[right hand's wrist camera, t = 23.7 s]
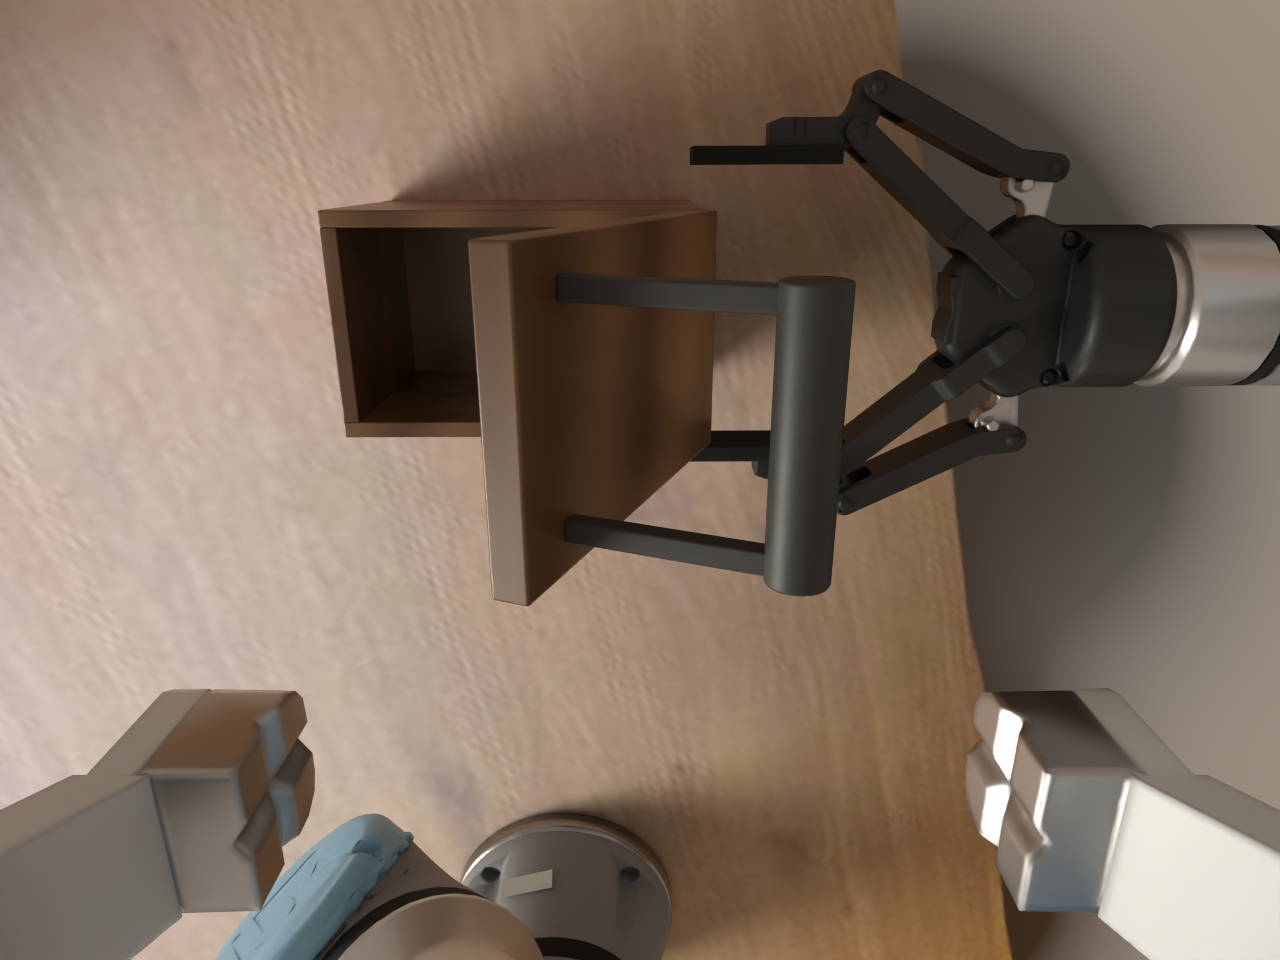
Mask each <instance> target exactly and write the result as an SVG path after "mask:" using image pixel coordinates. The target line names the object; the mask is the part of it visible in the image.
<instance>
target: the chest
mask: <svg viewBox="0 0 1280 960" xmlns="http://www.w3.org/2000/svg"><path fill="white" fill-rule="evenodd" d="M688 210H701V209H699V208H698V207H696V206H695V205H693V204H692V203H690V201H689V200H462V201H384V202H379V203H371V204H364V205H356V206H348V207H340V208H333V209H325V210H319V211H318V216H319V224H320V227H321V228H320V234H321V242H322V250H323V258H324V266H325V275H326V283H327V291H328V299H329V307H330V315H331V323H332V331H333V339H334V347H335V355H336V363H337V371H338V379H339V387H340V395H341V403H342V411H343V419H344V427H345V435H346V437H481V425H480V410H479V396H478V381H477V366H476V352H475V337H474V322H473V308H472V293H471V278H470V263H469V249H468V241H469V240H470V239H474V238H482V237H490V236H497V235H505V234H513V233H520V232H528V231H536V230H543V229H551V228H558V227H566V226H574V225H581V224H589V223H597V222H604V221H612V220H620V219H627V218H635V217H642V216H650V215H658V214H665V213H673V212H681V211H688Z"/></svg>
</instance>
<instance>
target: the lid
mask: <svg viewBox="0 0 1280 960" xmlns="http://www.w3.org/2000/svg"><path fill="white" fill-rule="evenodd" d="M716 233H717V211H712V210H688V211H681V212H673V213H665V214H658V215H650V216H642V217H635V218H627V219H620V220H612V221H604V222H597V223H589V224H581V225H574V226H566V227H558V228H551V229H543V230H536V231H528V232H520V233H513V234H505V235H497V236H490V237H482V238H474V239H470V240H469V241H468V249H469V263H470V278H471V293H472V308H473V322H474V337H475V352H476V366H477V381H478V396H479V410H480V425H481V440H482V454H483V469H484V484H485V498H486V513H487V528H488V543H489V557H490V572H491V587H492V598H493V599H494V600H498V601H503V602H508V603H513V604H518V605H523V606H530V605H531V604H532V603H533V602H534V601H535V600H536V599H537V598H539V597H540V596H541V595H542V594H543V593H544V592H545V591H546V590H547V589H549V588H550V587H551V586H552V585H553V584H554V583H555V582H556V581H557V580H559V579H560V578H561V577H562V576H563V575H564V574H565V573H566V572H567V571H569V570H570V569H571V568H572V567H573V566H574V565H575V564H576V563H577V562H578V561H580V560H581V559H582V558H583V557H584V556H585V555H586V554H587V553H588V552H590V551H591V550H592V549H593V548H594V547H598V548H603V549H609V550H615V551H621V552H627V553H632V554H638V555H644V556H650V557H656V558H661V559H667V560H673V561H679V562H685V563H690V564H696V565H702V566H708V567H714V568H719V569H725V570H731V571H737V572H743V573H748V574H754V575H760V576H763V579H764V582H765V584H766V585H767V586H768V587H769V588H771V589H772V590H774V591H776V592H779V593H782V594H786V595H791V596H813V595H818V594H821V593H823V592H825V591H826V590H827V589H828V588H829V586H830V585H831V576H832V564H833V552H834V540H835V528H836V516H837V504H838V491H839V479H840V467H841V455H842V443H843V431H844V419H845V407H846V395H847V382H848V370H849V358H850V346H851V334H852V322H853V310H854V298H855V286H856V284H855V281H853V280H851V279H847V278H842V277H832V276H792V277H786V278H783V279H780V281H779V283H771V282H750V281H728V280H715V270H716ZM714 311H715V312H731V313H748V314H764V315H777V322H776V342H775V361H774V380H773V399H772V418H771V437H770V456H769V475H768V494H767V513H766V532H765V544H764V543H758V542H751V541H745V540H739V539H732V538H726V537H720V536H713V535H707V534H701V533H694V532H688V531H682V530H676V529H669V528H663V527H657V526H650V525H644V524H638V523H631V522H625V521H624V520H625V519H626V518H627V517H628V516H629V515H631V514H632V513H633V512H634V511H635V510H636V509H637V508H638V507H639V506H641V505H642V504H643V503H644V502H645V501H646V500H647V499H648V498H649V497H651V496H652V495H653V494H654V493H655V492H656V491H657V490H658V489H659V488H661V487H662V486H663V485H664V484H665V483H666V482H667V481H668V480H669V479H670V478H672V477H673V476H674V475H675V474H676V473H677V472H678V471H679V470H680V469H682V468H683V467H684V466H685V465H686V464H687V463H688V462H689V461H690V460H692V459H693V458H694V457H695V456H696V455H697V454H698V453H699V452H700V451H702V450H703V449H704V448H705V447H706V446H707V445H708V444H709V443H710V442H711V415H712V379H713V342H714Z"/></svg>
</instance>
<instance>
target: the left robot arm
mask: <svg viewBox="0 0 1280 960" xmlns="http://www.w3.org/2000/svg"><path fill="white" fill-rule="evenodd" d="M879 115H880V116H881V117H883V118H885V119H887V120H889V121H890V122H892V123H894V124H896V125H897V126H899V127H901V128H903V129H905V130H906V131H908V132H910V133H912V134H913V135H915V136H917V137H919V138H921V139H922V140H924V141H926V142H928V143H929V144H931V145H933V146H935V147H937V148H938V149H940V150H942V151H944V152H946V153H947V154H949V155H951V156H953V157H954V158H956V159H958V160H960V161H962V162H963V163H965V164H967V165H969V166H970V167H972V168H974V169H976V170H978V171H980V172H982V173H984V174H987V175H990V176H993V177H997V178H1001V182H1000V190H1001V192H1002V194H1003V195H1004V196H1006V197H1008V198H1011V199H1012V200H1013V201H1014V202H1015V204H1016V207H1017V212H1016V215H1013V216H1011V217H1009V218H1008V219H1006V220H1005V221H1003V222H1002V223H1000V224H999V225H997V226H996V227H994V228H993V229H991V230H990V231H989V232H987V231H986V230H985V229H984V228H983V227H982V226H981V225H980V224H979V223H978V222H976V221H975V220H974V219H972V218H970V217H969V216H968V215H966V214H965V213H964V212H963V211H962V210H961V209H960V208H959V207H958V206H957V205H956V204H955V203H954V202H953V201H952V200H951V199H950V198H949V197H948V196H947V195H946V194H945V193H944V192H943V191H942V190H941V189H940V188H939V187H938V186H937V185H936V184H935V183H934V182H933V181H932V180H931V179H930V178H929V177H928V176H927V175H926V174H925V173H924V172H923V171H922V170H921V169H920V168H919V167H918V166H917V165H916V164H915V163H914V162H913V161H912V160H911V159H910V158H909V157H908V156H907V155H906V154H904V153H903V152H902V151H901V150H900V149H899V148H898V147H897V146H896V145H895V144H894V143H893V142H892V141H891V140H890V139H889V138H888V137H887V136H886V135H885V134H884V133H883V132H882V131H881V130H880V129H879V128H878V127H877V126H876V125H875V124H876V122H877V119H878V117H879ZM844 150H845V151H846V152H847V153H848V154H849V155H850V156H851V157H852V158H853V159H854V160H855V161H856V162H857V163H858V164H859V165H860V166H861V167H862V168H863V169H864V170H865V171H867V172H868V173H869V174H870V175H871V176H872V177H873V178H874V179H875V180H876V181H877V182H878V183H879V184H880V185H881V186H882V187H883V188H884V189H885V190H886V191H887V192H888V193H889V194H890V195H891V196H892V197H893V198H894V199H896V200H897V201H898V202H899V203H900V204H901V205H902V206H903V207H904V208H905V209H906V210H907V211H908V212H909V213H910V214H911V215H912V216H913V217H914V218H915V219H916V220H917V221H918V222H919V223H920V224H921V225H922V226H923V227H925V228H926V229H927V230H928V231H929V232H930V233H931V235H932V237H933V238H934V239H935V240H936V242H938V243H939V244H940V245H941V246H942V247H943V248H944V249H945V250H946V251H947V252H948V253H949V254H950V255H951V256H952V258H951V259H950V260H949V261H948V262H947V264H946V265H945V267H944V269H943V271H942V272H938V278H937V287H936V289H937V296H938V303H939V305H938V308H937V311H936V314H935V316H934V319H933V322H932V331H931V337H933V338H934V339H935V343H936V346H937V348H938V350H937V351H936V352H934V353H933V354H932V355H930V356H929V357H928V358H926V359H925V360H924V361H923V362H921V363H920V364H919V366H918V368H917V370H916V371H915V372H914V373H913V374H911V375H910V376H909V377H908V378H906V379H905V380H904V381H902V382H901V383H900V384H898V385H897V386H896V387H895V388H893V389H892V390H891V391H889V392H888V393H887V394H885V395H884V396H883V397H882V398H880V399H879V400H878V401H876V402H875V403H874V404H872V405H871V406H870V407H869V408H867V409H866V410H865V411H863V412H862V413H861V414H859V415H858V416H857V417H856V418H854V419H853V420H852V421H850V422H849V423H848V424H846V425H845V426H844V431H843V443H842V455H841V467H840V479H839V491H838V504H837V514H839V515H848V514H851V513H853V512H855V511H857V510H859V509H862V508H864V507H866V506H868V505H871V504H873V503H875V502H877V501H880V500H882V499H884V498H886V497H888V496H891V495H893V494H895V493H897V492H900V491H902V490H904V489H906V488H908V487H911V486H913V485H915V484H917V483H920V482H922V481H924V480H926V479H929V478H931V477H933V476H935V475H937V474H940V473H942V472H944V471H946V470H949V469H951V468H953V467H955V466H957V465H960V464H962V463H964V462H966V461H969V460H971V459H973V458H975V457H977V456H981V455H990V454H999V453H1008V452H1015V451H1018V450H1020V449H1021V448H1023V446H1024V445H1025V443H1026V440H1027V438H1026V434H1025V432H1024V431H1023V430H1021V429H1020V428H1018V395H1020V394H1022V393H1024V392H1026V391H1028V390H1030V389H1033V388H1037V387H1121V386H1127V385H1130V384H1132V383H1134V384H1137V385H1139V386H1150V387H1154V386H1222V385H1280V226H1264V225H1251V224H1166V225H1157V226H1154V227H1152V228H1149V227H1147V226H1144V225H1058V224H1055V223H1053V222H1051V221H1049V220H1048V219H1046V218H1045V217H1046V213H1047V210H1048V205H1049V202H1050V198H1051V194H1052V190H1053V186H1054V183H1055V182H1058V181H1060V180H1062V179H1063V178H1064V177H1065V176H1066V175H1067V173H1068V171H1069V166H1070V164H1069V160H1068V158H1067V157H1066V156H1065V155H1063V154H1060V153H1052V152H1044V151H1036V150H1027V149H1021V148H1020V147H1018V146H1016V145H1014V144H1013V143H1011V142H1009V141H1007V140H1006V139H1004V138H1002V137H1000V136H999V135H997V134H995V133H993V132H992V131H990V130H988V129H986V128H985V127H983V126H981V125H979V124H978V123H976V122H974V121H972V120H971V119H969V118H967V117H965V116H964V115H962V114H960V113H958V112H957V111H955V110H953V109H951V108H950V107H948V106H946V105H944V104H943V103H941V102H939V101H937V100H936V99H934V98H932V97H930V96H929V95H927V94H925V93H923V92H922V91H920V90H918V89H916V88H915V87H913V86H911V85H909V84H908V83H906V82H904V81H902V80H901V79H899V78H897V77H895V76H894V75H892V74H890V73H888V72H887V71H883V70H878V71H874V72H872V73H870V74H867V75H865V76H862V77H861V78H859V79H857V81H856V82H855V83H854V85H853V88H852V95H851V98H850V100H849V103H848V105H847V107H846V109H845V111H844V112H843V113H842V114H841V115H839V116H838V117H782V118H779V119H777V120H774V121H772V122H770V123H767V124H766V144H765V146H692V147H690V165H754V164H843V159H844ZM977 382H978V383H979V384H981V385H982V386H983V387H984V388H986V389H987V390H989V391H991V396H990V398H989V400H988V401H987V403H985V404H984V405H982V406H979V407H977V408H974V409H973V410H972V411H971V412H970V416H969V418H967V419H962V420H958V421H954V422H952V423H949V424H947V425H944V426H942V427H940V428H938V429H936V430H933V431H931V432H929V433H927V434H925V435H922V436H920V437H918V438H916V439H914V440H912V441H909V442H907V443H905V444H903V445H901V446H898V447H896V448H894V449H892V450H890V451H887V452H885V453H883V454H881V455H879V456H877V457H874V458H872V459H870V460H868V459H869V458H870V457H872V456H873V455H874V454H876V453H877V452H878V451H880V450H881V449H882V448H884V447H885V446H886V445H888V444H889V443H890V442H892V441H893V440H894V439H896V438H897V437H898V436H900V435H901V434H902V433H903V432H905V431H906V430H907V429H909V428H910V427H911V426H913V425H914V424H915V423H917V422H918V421H919V420H921V419H922V418H923V417H925V416H926V415H927V414H929V413H930V412H931V411H933V410H934V409H935V408H937V407H938V406H939V405H941V404H942V403H943V402H945V401H947V400H952V399H955V398H957V397H958V396H960V395H961V394H962V393H964V392H965V391H966V390H968V389H969V388H970V387H972V386H973V385H974V384H976V383H977ZM770 437H771V430H767V431H711V442H710V443H709V444H708V445H707V446H706V447H705V448H704V449H703V450H702V451H700V452H699V453H698V454H697V455H696V456H695V457H694V458H693V459H692V460H690V461H689V462H692V461H752V468H753V471H754V473H755V475H756V476H759V477H762V478H764V479H768V475H769V456H770ZM866 460H868V461H866ZM865 461H866V462H865ZM413 839H414V836H413V835H412V833H410V832H404V831H403V830H402V829H400V828H399V827H398V826H397V825H396V824H394V823H393V822H392V821H391V820H390V819H388V818H387V817H385V816H383V815H379V814H366V815H362V816H359V817H356V818H354V819H352V820H350V821H348V822H346V823H344V824H343V825H341V826H340V827H338V828H337V829H335V830H334V831H332V832H331V833H330V834H328V835H327V836H326V837H325V838H323V839H322V840H321V841H319V842H318V843H317V844H316V845H314V846H313V847H312V848H311V849H310V850H309V851H308V852H307V853H305V854H304V855H303V856H302V857H301V858H300V859H299V860H298V861H297V862H296V863H295V864H294V865H293V866H292V867H291V868H290V869H289V870H288V871H287V872H286V873H285V874H284V875H283V876H282V877H281V878H280V879H279V880H278V881H277V882H276V883H275V884H274V885H273V887H272V889H271V891H270V893H269V895H268V897H267V899H266V901H265V903H264V905H263V907H262V909H261V911H250V913H249V914H248V915H247V916H246V917H245V919H244V920H243V921H242V922H241V924H240V925H239V926H238V928H237V929H236V930H235V932H234V933H233V934H232V936H231V937H230V938H229V940H228V941H227V942H226V944H225V945H224V947H223V948H222V950H221V951H220V953H219V954H218V956H217V957H216V959H215V960H661V958H662V955H663V952H664V949H665V946H666V944H667V940H668V937H669V932H670V927H671V920H672V911H671V890H670V885H669V881H668V877H667V874H666V872H665V870H664V868H663V866H662V864H661V863H660V861H659V859H658V858H657V857H656V855H655V854H654V853H653V852H652V850H651V849H650V848H649V847H648V846H647V845H646V844H645V843H643V842H642V841H641V840H640V839H639V838H637V837H636V836H634V835H633V834H632V833H630V832H628V831H626V830H625V829H623V828H621V827H619V826H617V825H615V824H612V823H609V822H607V821H604V820H601V819H597V818H593V817H588V816H583V815H575V814H550V815H541V816H536V817H531V818H528V819H524V820H521V821H518V822H516V823H513V824H510V825H508V826H506V827H504V828H502V829H501V830H499V831H497V832H496V833H494V834H493V835H491V836H490V837H489V838H488V839H486V840H485V841H484V842H483V843H482V844H481V845H480V846H479V847H478V848H477V849H476V850H475V852H474V853H473V854H472V856H471V857H470V859H469V860H468V862H467V864H466V866H465V868H464V871H463V874H462V877H461V881H460V883H459V882H457V881H456V880H455V879H453V878H452V877H451V876H450V875H448V874H447V873H446V872H445V871H443V870H442V869H441V868H440V867H439V866H438V865H437V864H436V863H434V862H433V861H432V860H431V859H430V858H429V857H428V856H427V855H426V854H425V853H424V852H423V851H422V850H421V849H420V848H419V847H418V846H417V845H416V844H415V843H414V842H413Z"/></svg>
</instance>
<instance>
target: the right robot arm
mask: <svg viewBox="0 0 1280 960" xmlns="http://www.w3.org/2000/svg"><path fill="white" fill-rule="evenodd" d="M306 723H307V717H306V712H305V707H304V702H303V698H302V697H301V696H300V695H299V694H298V693H297V692H296V691H274V690H226V689H215V690H210V689H173V690H169V691H166V692H163V693H162V694H161V695H160V696H159V697H158V698H157V699H156V700H155V701H154V702H153V703H152V704H151V705H150V706H149V708H148V709H147V710H146V711H145V712H144V713H143V714H142V715H141V716H140V717H139V718H138V719H137V721H136V722H135V723H134V724H133V725H132V726H131V727H130V728H129V729H128V730H127V731H126V732H125V734H124V735H123V736H122V737H121V738H120V739H119V740H118V741H117V742H116V743H115V744H114V745H113V747H112V748H111V749H110V750H109V751H108V752H107V753H106V754H105V755H104V756H103V757H102V758H101V760H100V761H99V762H98V763H97V764H96V765H95V766H94V767H93V768H92V769H91V770H90V772H89V773H88V774H87V775H72V776H70V777H68V778H66V779H63V780H61V781H59V782H57V783H55V784H53V785H51V786H49V787H47V788H45V789H43V790H41V791H39V792H37V793H35V794H33V795H31V796H29V797H27V798H24V799H22V800H20V801H18V802H16V803H14V804H12V805H10V806H8V807H6V808H4V809H2V810H0V960H131V959H132V958H133V957H134V956H136V955H137V954H138V953H139V952H140V951H142V950H143V949H144V948H145V947H146V946H148V945H149V944H150V943H151V942H152V941H154V940H155V939H156V938H157V937H158V936H160V935H161V934H162V933H163V932H165V931H166V930H167V929H168V928H169V927H171V926H172V925H173V924H174V923H175V922H177V921H178V920H179V919H180V918H181V917H182V914H181V913H197V912H231V911H261V909H262V907H263V905H264V903H265V901H266V899H267V897H268V895H269V893H270V891H271V889H272V887H273V885H274V883H275V882H276V880H277V878H278V876H279V874H280V872H281V870H282V868H283V866H284V864H285V863H284V857H283V851H282V846H284V845H285V844H287V843H288V842H289V841H291V840H292V839H294V838H295V837H297V836H298V835H300V833H301V831H302V829H303V827H304V824H305V822H306V820H307V818H308V816H309V813H310V808H311V804H312V799H313V795H314V791H315V768H314V761H313V754H312V752H311V751H310V750H309V749H308V748H307V747H306V746H305V745H304V744H303V743H302V742H301V741H300V740H299V739H298V737H299V735H300V734H301V732H302V730H303V728H304V727H305V725H306ZM973 723H974V725H975V727H976V728H977V730H978V732H979V734H980V735H981V737H982V739H981V740H980V741H979V742H978V743H977V744H976V745H975V746H974V747H973V748H972V749H971V750H970V751H969V752H968V754H967V762H966V771H965V785H966V795H967V802H968V805H969V809H970V812H971V816H972V818H973V821H974V823H975V825H976V827H977V829H978V831H979V833H980V835H982V836H983V837H985V838H986V839H988V840H989V841H991V842H992V843H993V844H995V845H996V846H998V851H997V857H996V863H995V864H996V866H997V868H998V870H999V872H1000V874H1001V876H1002V878H1003V880H1004V882H1005V883H1006V885H1007V887H1008V889H1009V891H1010V893H1011V895H1012V897H1013V899H1014V901H1015V903H1016V905H1017V906H1018V908H1019V910H1020V911H1048V912H1083V913H1099V914H1098V917H1099V918H1100V919H1101V920H1103V921H1104V922H1105V923H1106V924H1107V925H1109V926H1110V927H1111V928H1112V929H1113V930H1115V931H1116V932H1117V933H1118V934H1120V935H1121V936H1122V937H1123V938H1124V939H1126V940H1127V941H1128V942H1129V943H1130V944H1132V945H1133V946H1134V947H1135V948H1136V949H1138V950H1139V951H1140V952H1141V953H1142V954H1144V955H1145V956H1146V957H1147V958H1148V959H1150V960H1280V810H1278V809H1276V808H1274V807H1272V806H1270V805H1268V804H1266V803H1264V802H1262V801H1259V800H1257V799H1255V798H1253V797H1251V796H1249V795H1247V794H1245V793H1243V792H1241V791H1239V790H1237V789H1235V788H1233V787H1231V786H1229V785H1227V784H1225V783H1223V782H1221V781H1218V780H1216V779H1214V778H1212V777H1210V776H1208V775H1193V774H1192V773H1191V772H1190V770H1189V769H1188V768H1187V767H1186V766H1185V765H1184V764H1183V763H1182V762H1181V761H1180V760H1179V759H1178V757H1177V756H1176V755H1175V754H1174V753H1173V752H1172V751H1171V750H1170V749H1169V748H1168V747H1167V746H1166V744H1165V743H1164V742H1163V741H1162V740H1161V739H1160V738H1159V737H1158V736H1157V735H1156V734H1155V732H1154V731H1153V730H1152V729H1151V728H1150V727H1149V726H1148V725H1147V724H1146V723H1145V722H1144V720H1143V719H1142V718H1141V717H1140V716H1139V715H1138V714H1137V713H1136V712H1135V711H1134V710H1133V709H1132V707H1131V706H1130V705H1129V704H1128V703H1127V702H1126V701H1125V700H1124V699H1123V698H1122V697H1121V696H1120V694H1119V693H1117V692H1114V691H1112V690H1110V689H1079V690H1065V691H1018V692H981V694H980V696H979V698H978V700H977V702H976V705H975V710H974V716H973Z"/></svg>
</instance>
